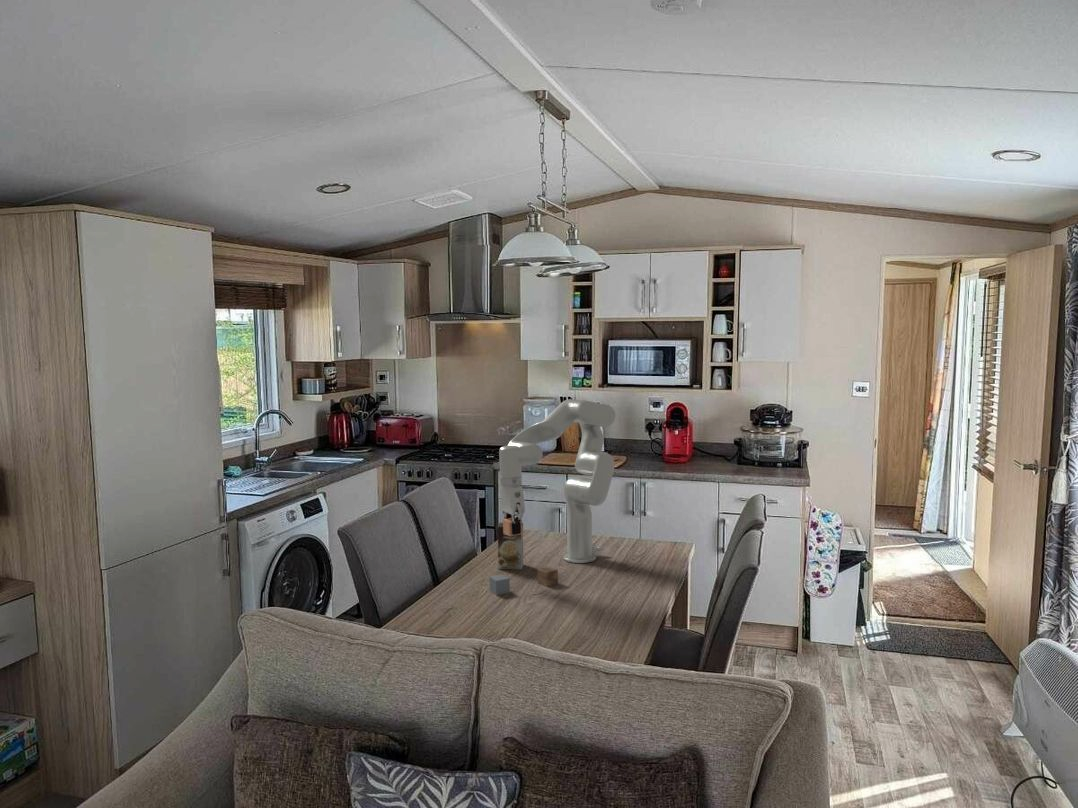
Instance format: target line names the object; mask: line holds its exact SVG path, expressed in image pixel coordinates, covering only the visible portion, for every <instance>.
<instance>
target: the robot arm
mask: <svg viewBox="0 0 1078 808" xmlns="http://www.w3.org/2000/svg"><path fill="white" fill-rule="evenodd" d="M615 420H616V412H615V409H614V408H613V407H612V406H611V405H610V404H605V403H599V402H595V401H590V400H586V399H574V398H571V399H570V398H568V399H565V400H563V401H561V403H560V404H559V405H557V407H555V408H554V409H553V410H552V412H551V413H549V414H548V415H547V416H546V417H544V419H543V420H541V421H539V422H537V423H534V424H533V425H530V426H529V427H527V428H525V429H522V430H520V432H518V433H517V434H516V435H515V436H514V437H513V438H511V440H510V441H509V442H508V444H507V445H503V446H501V447H500V448H499V451H498V457H499V477H500V478H499V479H500V480H499V482H500V483H499V484H500V487H501V489H500V506H501V507H500V509H501V510H502V513H503V519H507V518H512V521H513V523H512V534H513V535H515V534H520V533H521V520H522V519H523V517H524V514H525V511H526V509H525V506H526V505H525V498H524V490H523V486H522V485H523V478H522V477H523V476H522V475H523V474H522V466H530V465H536V464H537V463H539V462H540V461H541V460H542V458H543V455H544V454H543V449H542V448H541V446H539V445H538V444H541V443H545V442H550V441H554V440H556V439H559V438H561V436H562V435H563V434H564V433H566V431H567V430H568V429H569V428H570V427H572V425H573V424H574V423H578V425H579V427H580V431H581V439H580V440H581V441H580V444H579V447H578V452H577V455H576V458H575V462H574V463H575V464H574V469H575V470H576V472H578V473H579V474H582V475H584V476H585V475H586V476H592V477H591V478H588V477H582V476H572V477H569V478H568V479H567V480H566V481H565V482H564V484H563V485H564V486H563V495H564V500H565V505H566V538H567V539H566V540H567V541H566V545H567V547H566V548H567V552H566V553H564V554H563V557H562V558H563V560H565V561H566V562H567V563H574V564H586V563H592V562H594V561H595V560H597V554H596V553H597V552H603V551H604V546H603V545H598V546H597V545H593V514H592V509H591V506H594V507H595V506H596V507H597V506H601V505H602V504H604V503H605V502H606V500H607V497H608V493H609V490H610V487H611V485H612V484H611V483H612V480H613V477H614V476H613V475H614V472H615V461H614V458H613V456H612V455H611V454H609V453H608V452H605V451H602V449H603V445H604V434H603V430H602V429H601V428H608V427H611V426H612V425H613V424H614V423H615ZM515 517H516V518H515Z"/></svg>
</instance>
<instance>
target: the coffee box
mask: <svg viewBox="0 0 1078 808" xmlns="http://www.w3.org/2000/svg"><path fill="white" fill-rule="evenodd" d="M497 564H498V565H497V569H499V570H522V569H523V567H524V523H523V522H522V534H520V535H515V536H508V535H506V534H504V533H503V522H499V524H498V525H497Z"/></svg>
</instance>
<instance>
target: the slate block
mask: <svg viewBox="0 0 1078 808" xmlns="http://www.w3.org/2000/svg"><path fill="white" fill-rule="evenodd" d="M510 589H511V588H510V577H508V576H507V575H505V574H504V573H502V574H497V575H491V576H489V591H490V592H491V593H492V594H493V595H495V596H500V595H504V594H509V593H510V592H511V590H510Z"/></svg>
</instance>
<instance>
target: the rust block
mask: <svg viewBox="0 0 1078 808" xmlns="http://www.w3.org/2000/svg"><path fill="white" fill-rule="evenodd" d="M516 517H517V516H515V518H516ZM502 523H503V533H504V534H506V535H508V536H515V535H520V534H522V523H523V520H522V519H521V533H520V534H515V535H513V534H512V523H513V521H512V518H507V519H504V518H503V519H502Z"/></svg>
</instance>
